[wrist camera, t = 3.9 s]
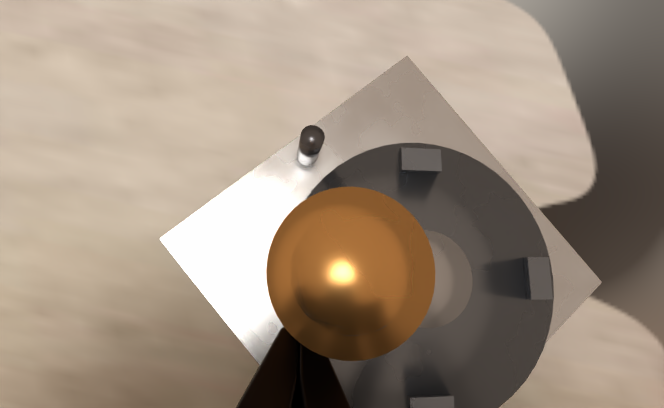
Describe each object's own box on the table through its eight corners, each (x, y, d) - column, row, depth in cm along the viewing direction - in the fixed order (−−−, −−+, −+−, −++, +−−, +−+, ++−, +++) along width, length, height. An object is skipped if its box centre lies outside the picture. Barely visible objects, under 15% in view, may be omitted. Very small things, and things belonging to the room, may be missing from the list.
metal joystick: (543, 413, 19) (941, 600, 8) (264, 426, 17) (254, 697, 6) (520, 158, 21) (803, 16, 10) (271, 147, 19) (274, -40, 8)
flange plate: (594, 282, 21) (647, 282, 18) (378, 512, 18) (400, 558, 15) (404, 60, 22) (425, 25, 19) (162, 239, 19) (141, 231, 16)
